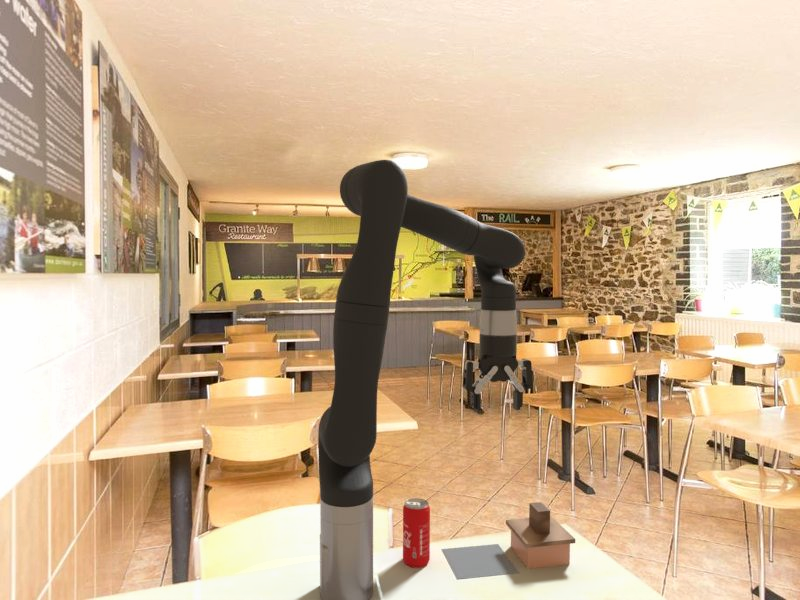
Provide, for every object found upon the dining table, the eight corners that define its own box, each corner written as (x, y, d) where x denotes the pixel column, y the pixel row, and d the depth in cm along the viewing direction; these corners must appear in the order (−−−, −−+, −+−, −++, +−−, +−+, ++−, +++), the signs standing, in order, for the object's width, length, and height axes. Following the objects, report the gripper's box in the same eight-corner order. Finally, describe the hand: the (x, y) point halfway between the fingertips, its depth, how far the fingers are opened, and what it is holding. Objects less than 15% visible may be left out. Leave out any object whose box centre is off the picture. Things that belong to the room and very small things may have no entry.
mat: (457, 582, 99) (457, 579, 99) (441, 552, 110) (441, 549, 110) (519, 575, 101) (519, 572, 101) (498, 546, 112) (498, 543, 112)
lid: (525, 547, 102) (526, 520, 102) (505, 523, 112) (506, 498, 111) (575, 543, 104) (575, 515, 103) (551, 519, 114) (551, 494, 113)
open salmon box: (527, 571, 103) (528, 545, 103) (510, 548, 111) (511, 524, 111) (569, 566, 105) (569, 541, 104) (549, 545, 113) (549, 521, 113)
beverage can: (427, 572, 102) (427, 510, 102) (400, 569, 104) (400, 507, 103) (431, 558, 108) (431, 498, 107) (405, 555, 109) (405, 496, 108)
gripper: (470, 334, 107) (469, 416, 107) (538, 333, 109) (537, 413, 110) (459, 330, 114) (458, 407, 115) (523, 329, 116) (522, 404, 117)
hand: (497, 410), depth 112 cm, fingers open, 8 cm apart
